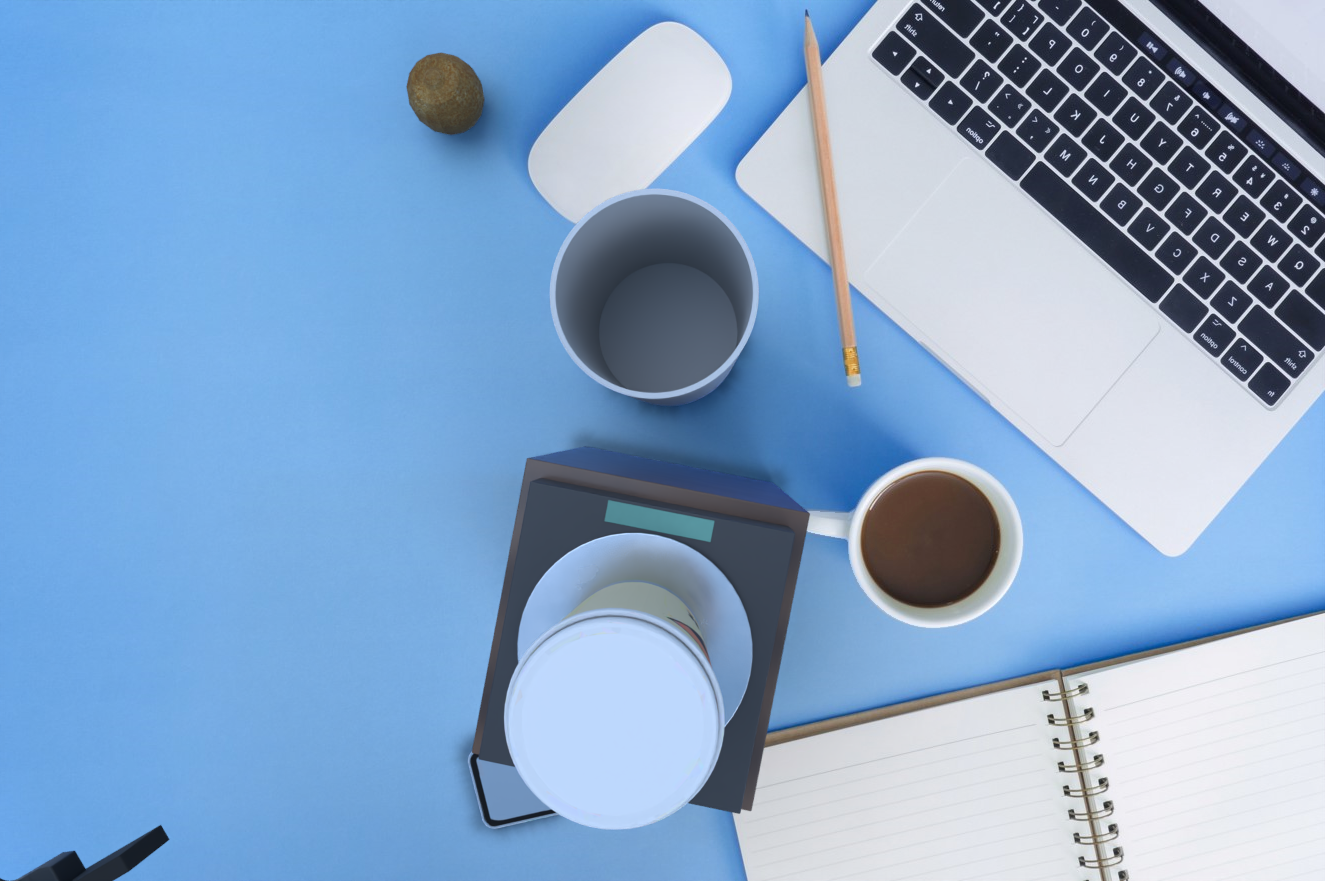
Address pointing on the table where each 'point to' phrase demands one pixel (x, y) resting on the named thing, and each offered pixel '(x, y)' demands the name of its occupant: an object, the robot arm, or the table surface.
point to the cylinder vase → (655, 295)
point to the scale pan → (661, 567)
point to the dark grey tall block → (672, 488)
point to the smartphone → (504, 795)
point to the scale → (731, 542)
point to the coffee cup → (617, 710)
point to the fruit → (445, 93)
